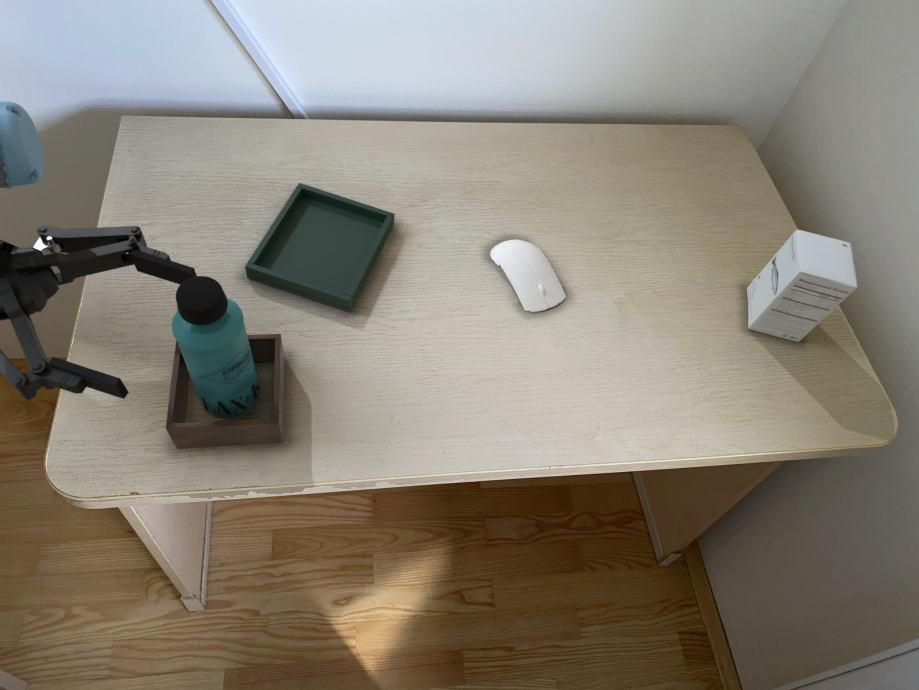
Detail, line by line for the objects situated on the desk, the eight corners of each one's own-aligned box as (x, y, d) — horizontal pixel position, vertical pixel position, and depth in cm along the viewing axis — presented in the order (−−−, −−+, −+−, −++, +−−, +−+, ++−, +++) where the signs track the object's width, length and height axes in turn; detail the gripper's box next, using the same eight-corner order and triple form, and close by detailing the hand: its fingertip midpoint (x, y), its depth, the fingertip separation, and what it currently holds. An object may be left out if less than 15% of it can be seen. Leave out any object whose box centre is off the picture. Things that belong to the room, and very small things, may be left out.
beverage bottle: (190, 415, 71) (140, 308, 55) (222, 366, 75) (184, 252, 58) (245, 436, 71) (212, 335, 54) (275, 386, 74) (252, 276, 58)
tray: (350, 312, 81) (350, 301, 79) (247, 278, 82) (244, 266, 80) (393, 225, 90) (394, 213, 88) (300, 194, 90) (299, 182, 88)
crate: (176, 449, 69) (165, 428, 65) (186, 360, 75) (176, 336, 71) (283, 443, 71) (278, 423, 67) (284, 357, 77) (280, 333, 72)
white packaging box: (744, 288, 92) (795, 226, 82) (796, 301, 92) (854, 241, 82) (745, 330, 88) (799, 271, 78) (799, 344, 88) (860, 287, 78)
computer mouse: (527, 316, 84) (531, 306, 82) (482, 249, 89) (485, 238, 88) (570, 300, 87) (575, 289, 85) (524, 235, 92) (527, 224, 90)
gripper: (49, 207, 75) (226, 262, 74) (-114, 390, 61) (100, 459, 60) (22, 155, 69) (214, 215, 68) (-168, 347, 55) (71, 424, 54)
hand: (161, 330), depth 64 cm, fingers open, 13 cm apart
